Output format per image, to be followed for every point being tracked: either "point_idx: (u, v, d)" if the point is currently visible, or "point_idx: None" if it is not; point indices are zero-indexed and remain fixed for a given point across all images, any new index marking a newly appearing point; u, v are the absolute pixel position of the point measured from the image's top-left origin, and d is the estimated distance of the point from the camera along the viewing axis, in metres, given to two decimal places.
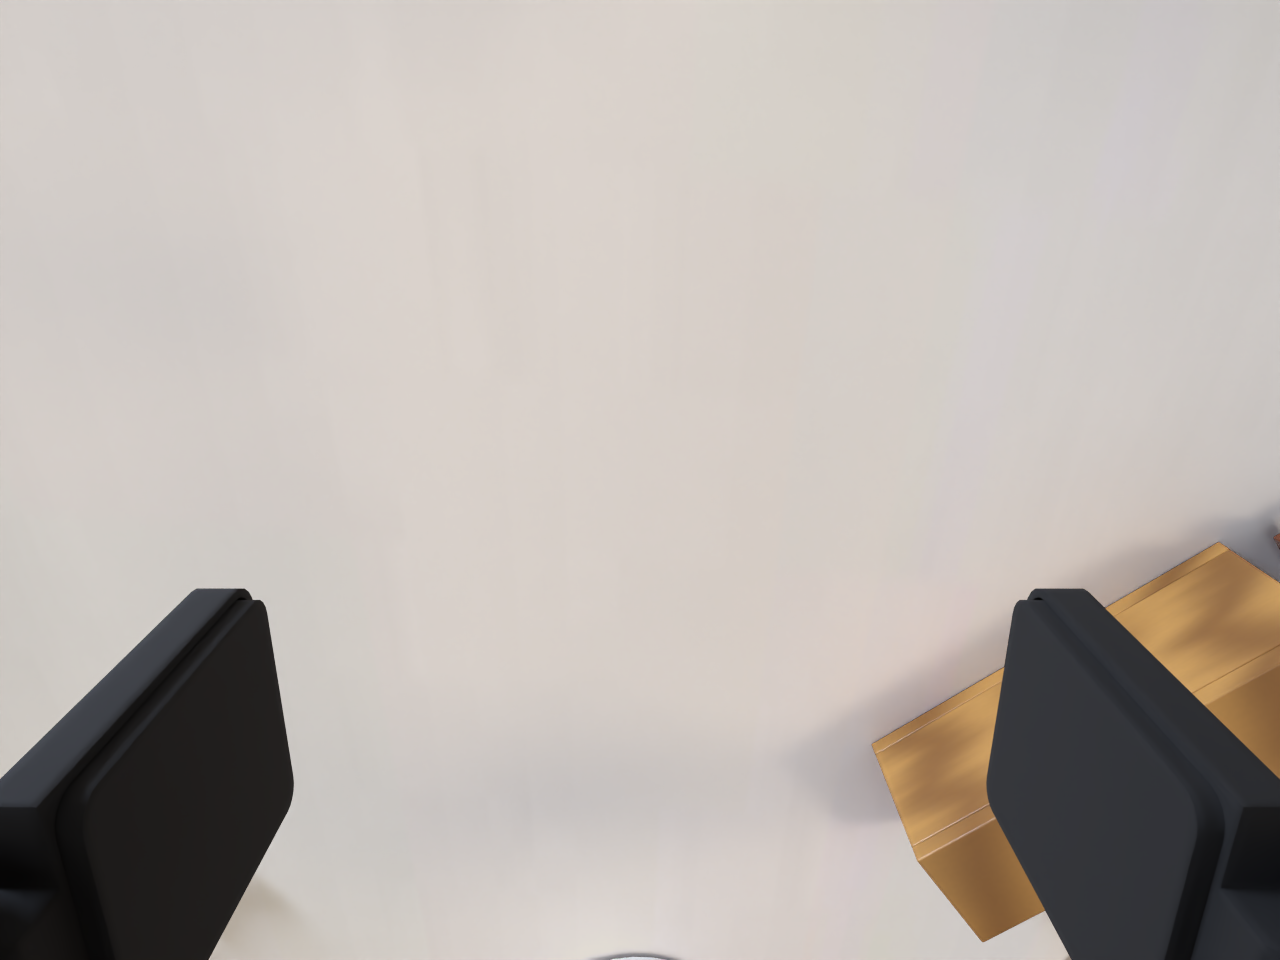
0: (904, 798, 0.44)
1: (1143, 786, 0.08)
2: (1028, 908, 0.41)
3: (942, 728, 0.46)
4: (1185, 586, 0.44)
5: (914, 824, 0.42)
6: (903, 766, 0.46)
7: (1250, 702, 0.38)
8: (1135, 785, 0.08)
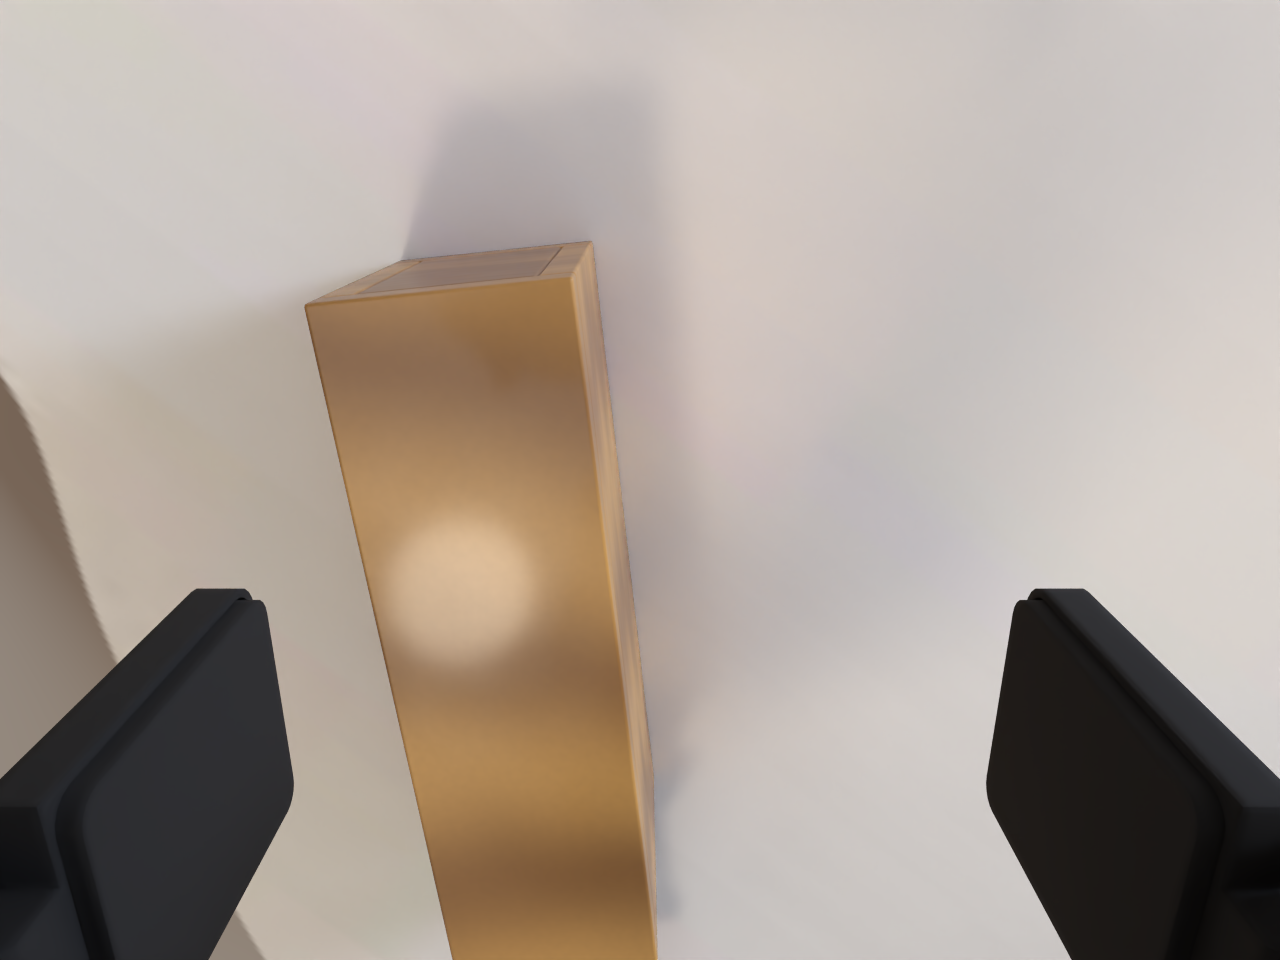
0: (585, 279, 0.24)
1: (1143, 786, 0.08)
2: (356, 419, 0.21)
3: (604, 373, 0.27)
4: (647, 741, 0.32)
5: (581, 288, 0.22)
6: (592, 290, 0.26)
7: (606, 842, 0.25)
8: (1135, 785, 0.08)
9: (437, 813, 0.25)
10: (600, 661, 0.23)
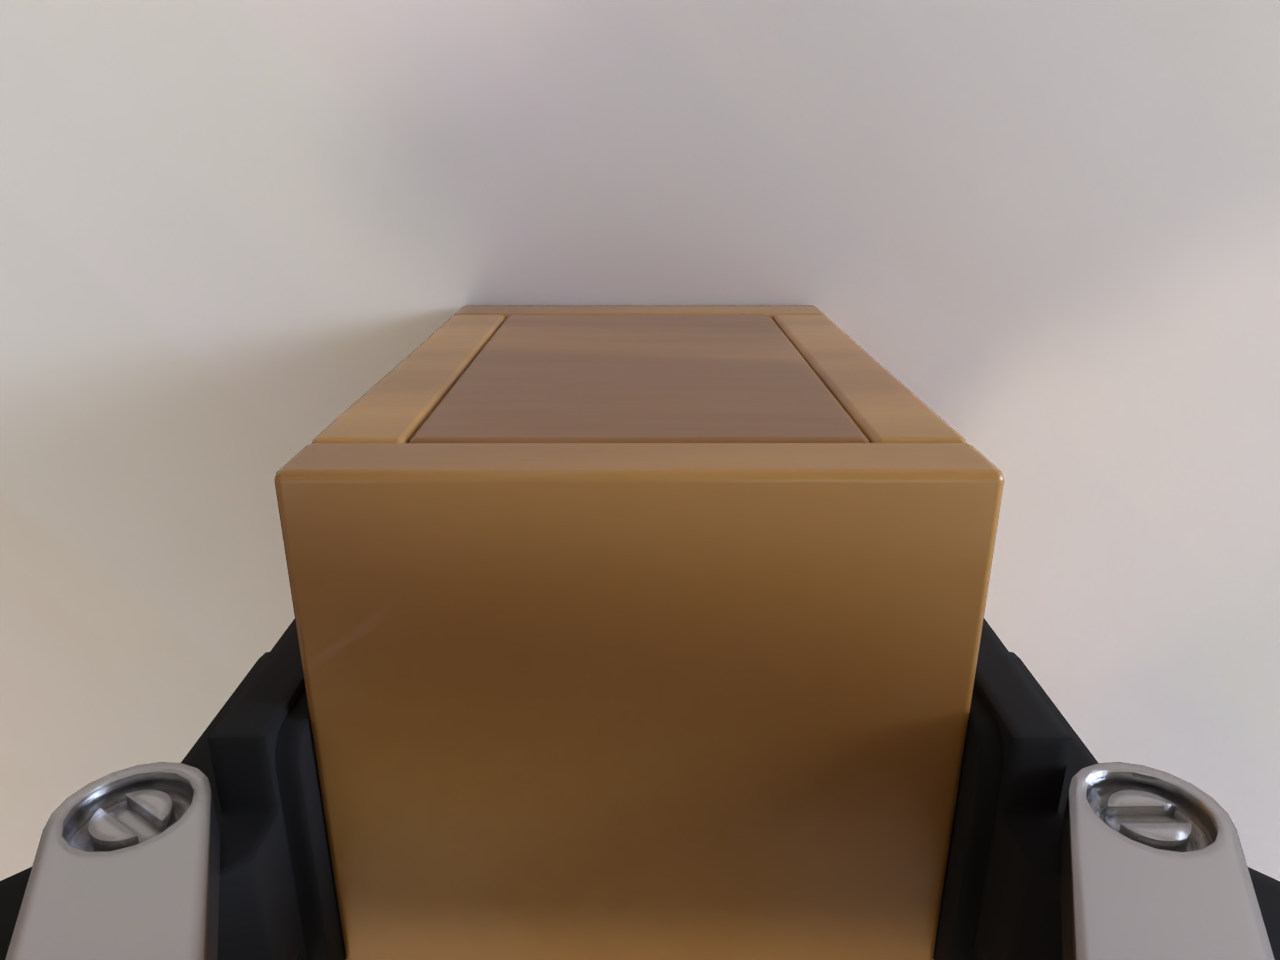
0: None
1: None
2: (380, 754, 0.08)
3: None
4: None
5: None
6: None
7: None
8: None
9: None
10: None
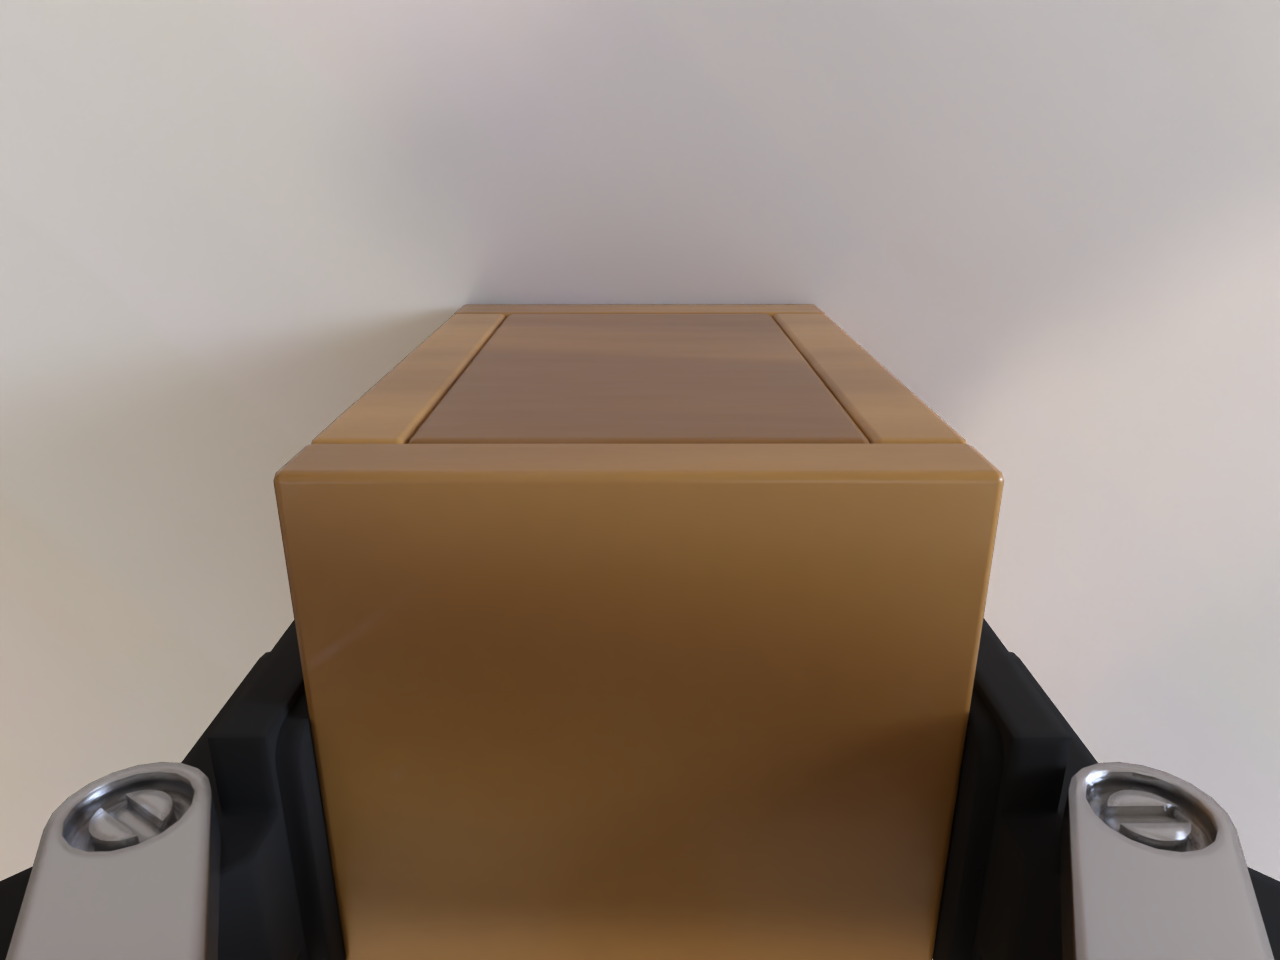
0: None
1: None
2: (379, 754, 0.08)
3: None
4: None
5: None
6: None
7: None
8: None
9: None
10: None
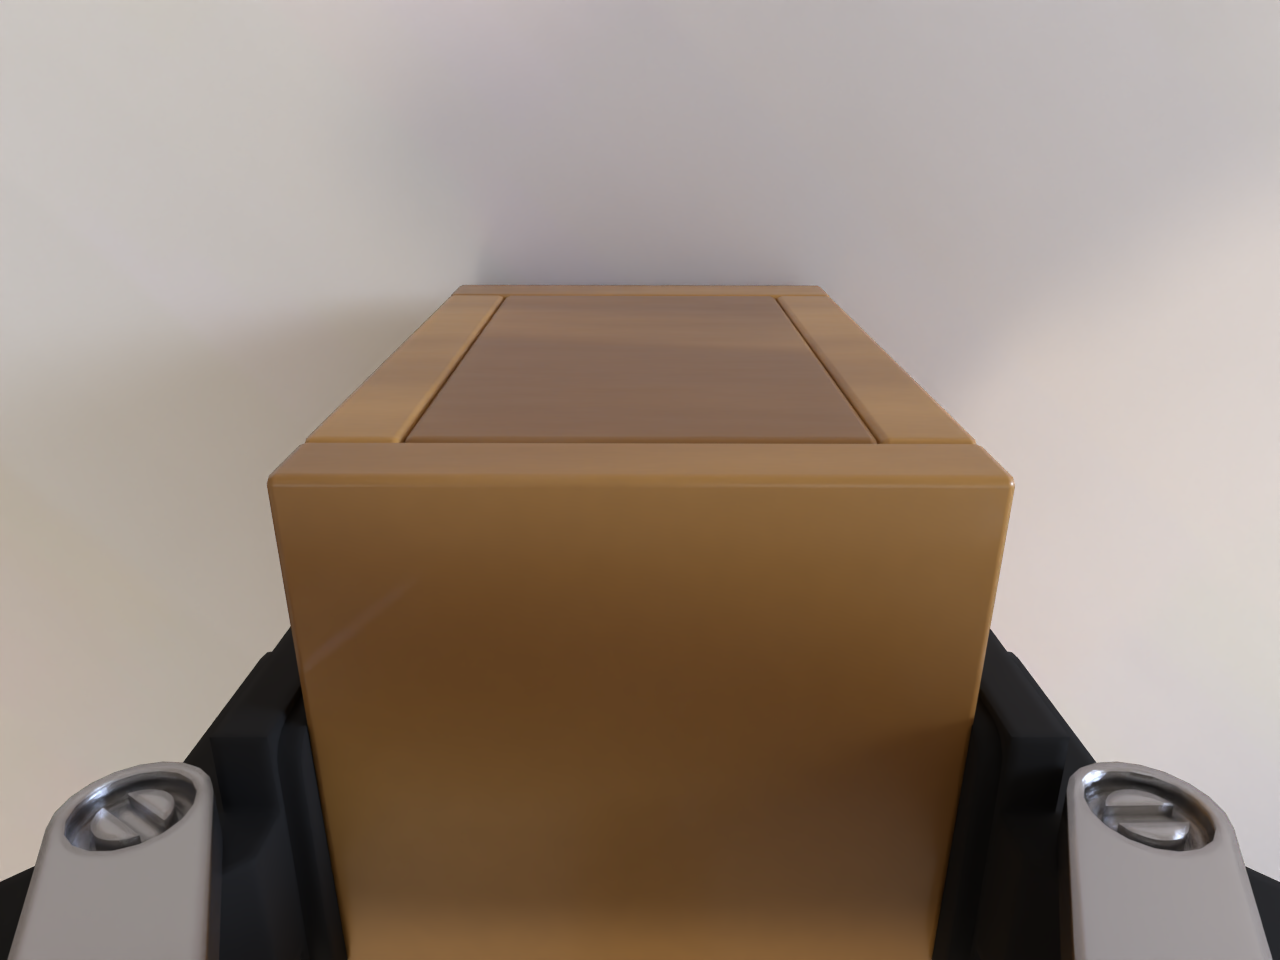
0: None
1: None
2: (378, 756, 0.08)
3: None
4: None
5: None
6: None
7: None
8: None
9: None
10: None
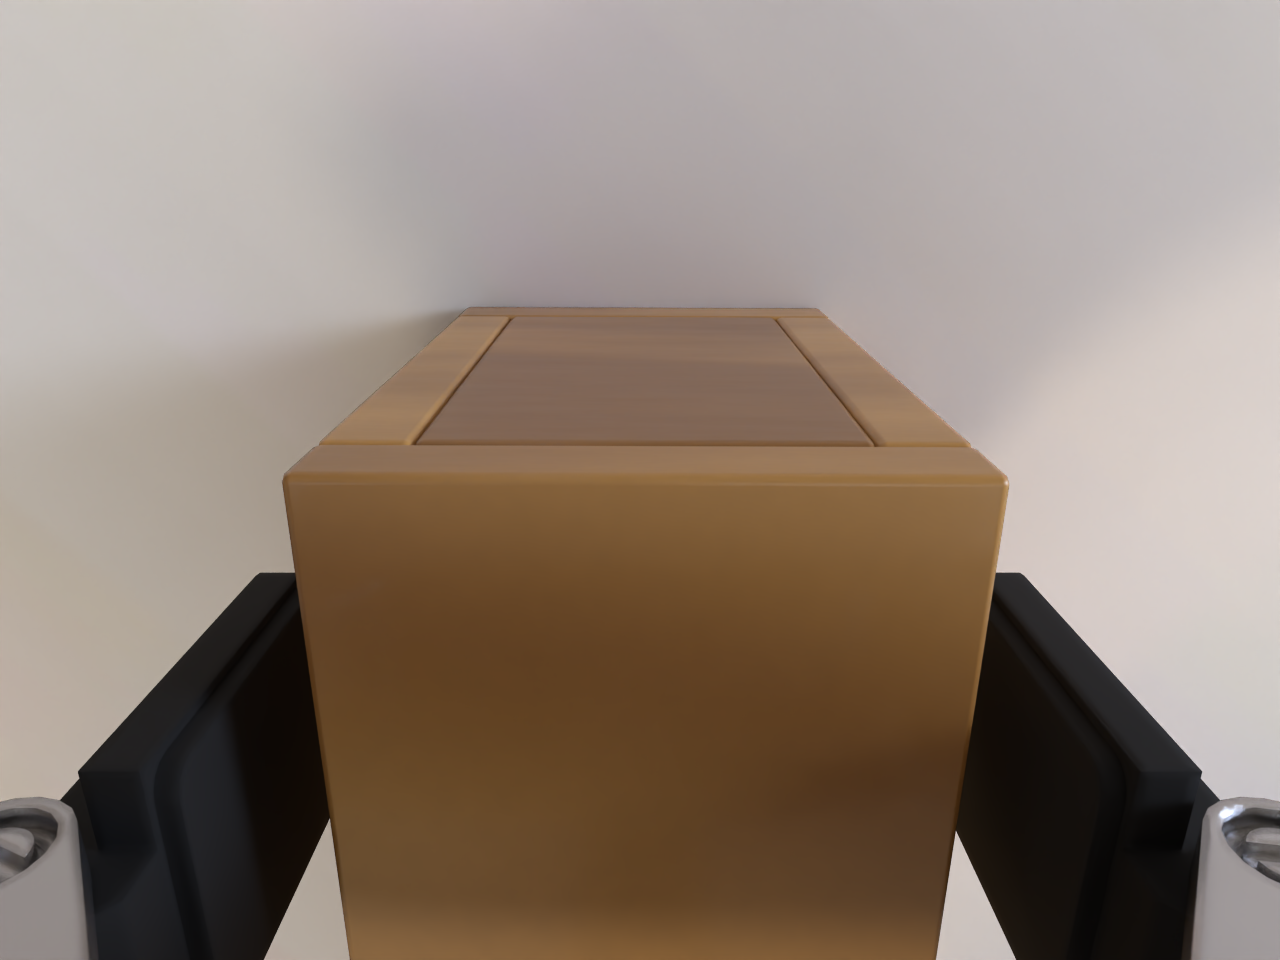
0: None
1: (1058, 756, 0.08)
2: (385, 755, 0.08)
3: None
4: None
5: None
6: None
7: None
8: (1051, 755, 0.08)
9: None
10: None
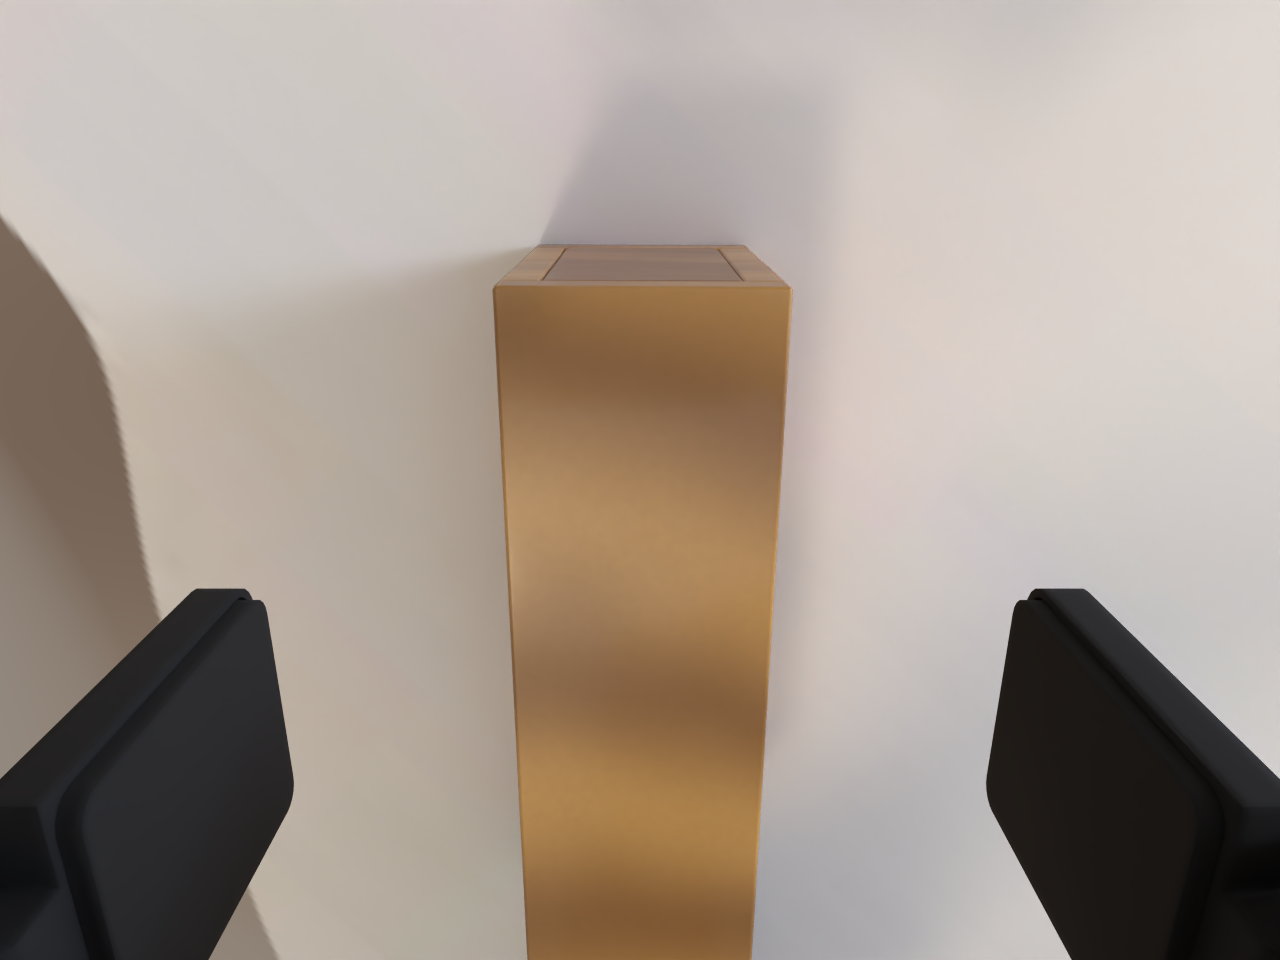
0: None
1: (1143, 786, 0.08)
2: (528, 417, 0.19)
3: None
4: None
5: None
6: None
7: (716, 890, 0.23)
8: (1135, 785, 0.08)
9: (541, 846, 0.23)
10: (746, 700, 0.21)
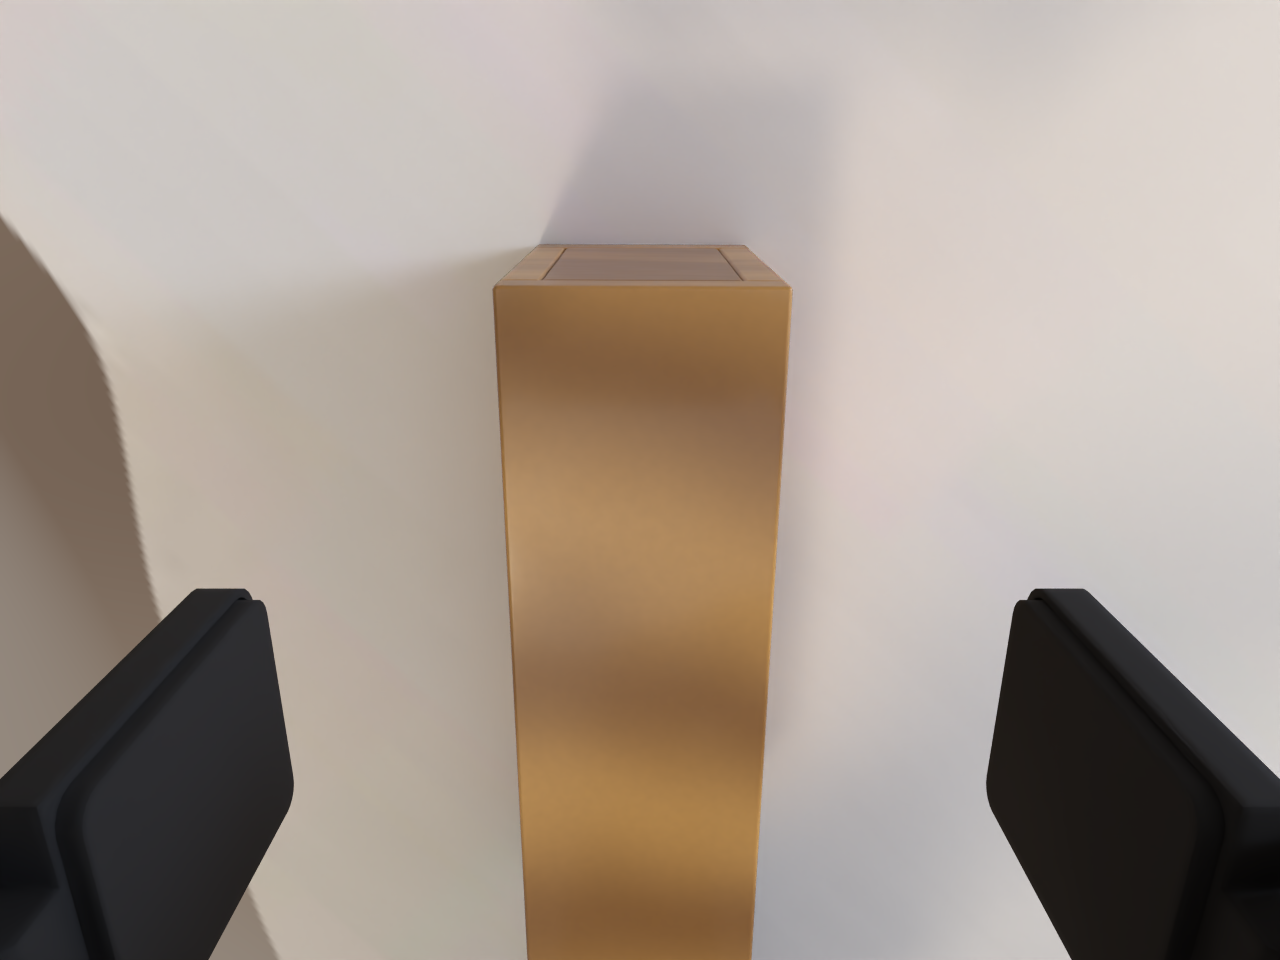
0: None
1: (1143, 786, 0.08)
2: (529, 417, 0.19)
3: None
4: None
5: None
6: None
7: (716, 890, 0.23)
8: (1135, 785, 0.08)
9: (541, 845, 0.23)
10: (746, 700, 0.21)
